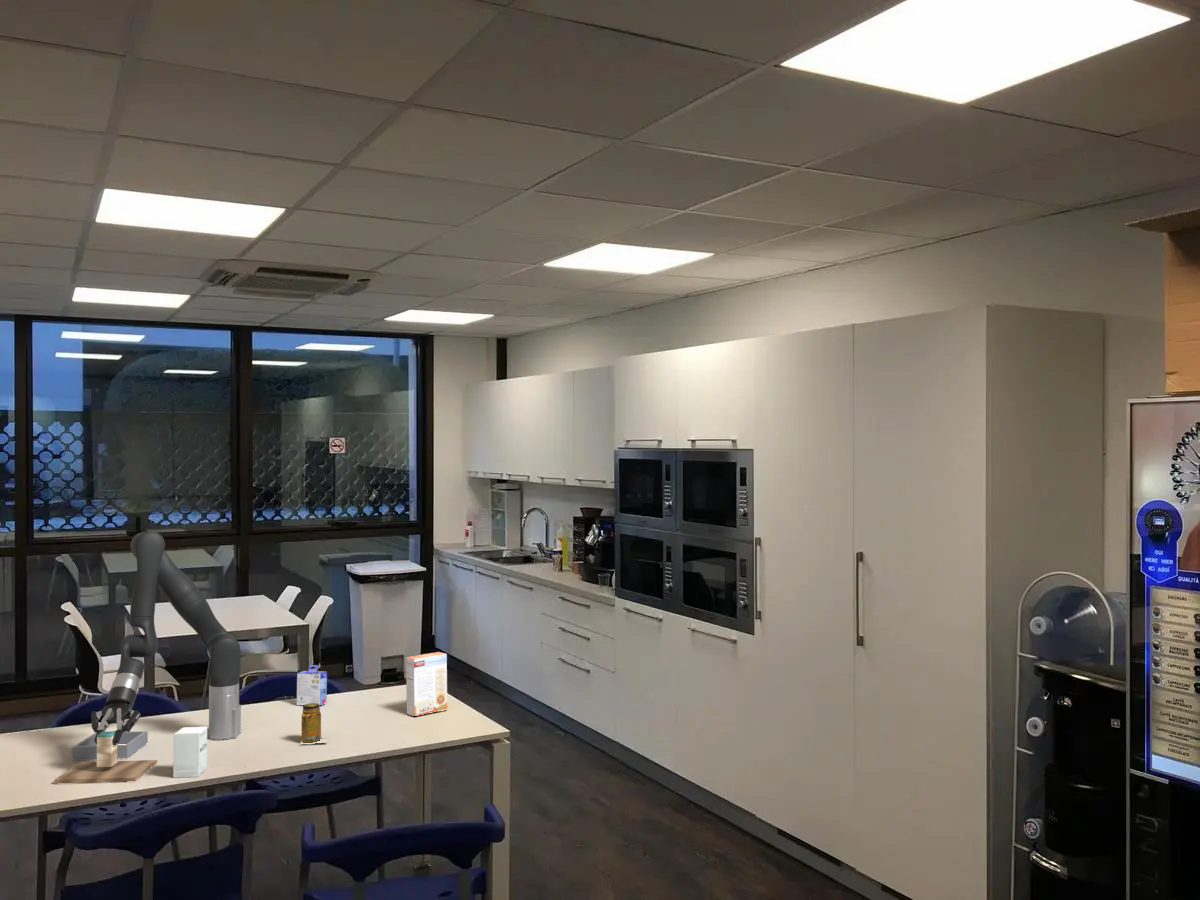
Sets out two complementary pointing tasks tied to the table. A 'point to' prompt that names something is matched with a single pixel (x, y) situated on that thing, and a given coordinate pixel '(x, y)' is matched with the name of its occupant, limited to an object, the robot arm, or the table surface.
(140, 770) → the walnut board
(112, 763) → the beech block
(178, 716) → the table surface
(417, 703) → the cracker box
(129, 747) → the parts bin
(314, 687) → the ink cartridge box
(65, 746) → the table surface
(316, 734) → the condiment
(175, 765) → the supplement box
